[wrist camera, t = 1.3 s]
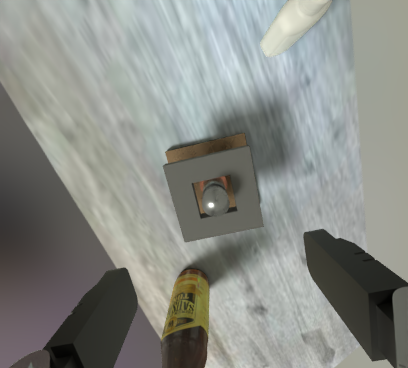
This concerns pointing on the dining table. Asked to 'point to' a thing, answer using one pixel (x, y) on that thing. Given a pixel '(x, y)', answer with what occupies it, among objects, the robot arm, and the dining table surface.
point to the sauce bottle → (187, 322)
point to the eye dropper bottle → (292, 24)
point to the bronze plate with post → (217, 187)
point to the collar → (208, 169)
